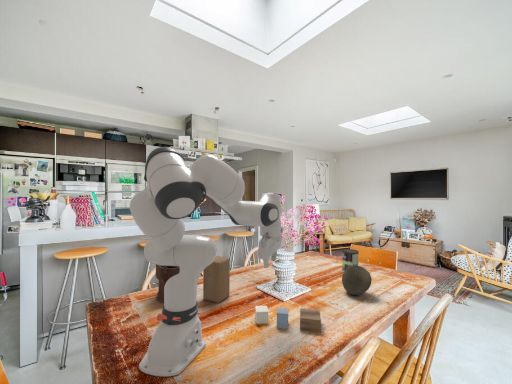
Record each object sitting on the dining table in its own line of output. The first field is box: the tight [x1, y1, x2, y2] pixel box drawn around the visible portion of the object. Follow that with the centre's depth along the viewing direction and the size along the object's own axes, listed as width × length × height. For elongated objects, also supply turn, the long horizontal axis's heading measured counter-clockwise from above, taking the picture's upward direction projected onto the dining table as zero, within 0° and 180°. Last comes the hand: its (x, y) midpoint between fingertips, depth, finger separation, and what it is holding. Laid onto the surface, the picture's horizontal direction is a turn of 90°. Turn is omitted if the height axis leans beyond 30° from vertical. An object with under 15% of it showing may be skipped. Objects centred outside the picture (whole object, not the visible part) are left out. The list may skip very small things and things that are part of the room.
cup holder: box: [155, 264, 180, 305], centre depth 122 cm, size 18×24×25 cm
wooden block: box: [202, 255, 231, 304], centre depth 122 cm, size 10×10×20 cm
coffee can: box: [341, 248, 360, 273], centre depth 163 cm, size 10×10×14 cm
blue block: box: [276, 307, 289, 330], centre depth 98 cm, size 4×4×6 cm
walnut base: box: [299, 307, 322, 333], centre depth 98 cm, size 8×8×5 cm
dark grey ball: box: [341, 264, 372, 296], centre depth 128 cm, size 14×14×15 cm
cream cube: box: [254, 305, 269, 325], centre depth 102 cm, size 5×5×5 cm
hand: (270, 263), depth 101 cm, fingers open, 8 cm apart
